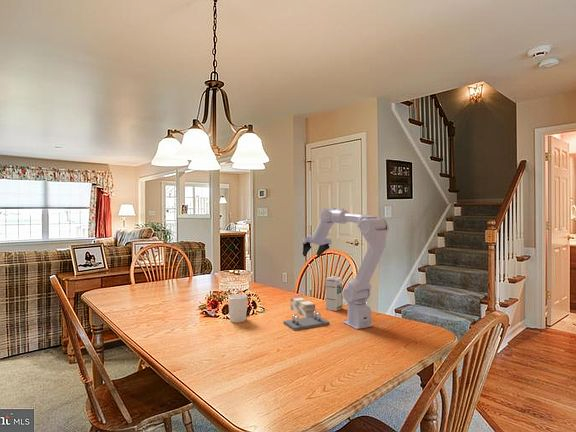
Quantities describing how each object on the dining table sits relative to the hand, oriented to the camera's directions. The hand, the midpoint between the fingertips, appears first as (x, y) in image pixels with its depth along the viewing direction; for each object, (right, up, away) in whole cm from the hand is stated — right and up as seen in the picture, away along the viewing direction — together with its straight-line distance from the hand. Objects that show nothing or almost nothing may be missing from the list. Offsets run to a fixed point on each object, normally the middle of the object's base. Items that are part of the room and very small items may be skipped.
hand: (310, 255), depth 169 cm
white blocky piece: (-4, -25, -8) cm, 26 cm away
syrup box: (+11, -25, -1) cm, 27 cm away
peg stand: (-3, -25, -23) cm, 34 cm away
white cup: (-31, -25, -18) cm, 44 cm away
